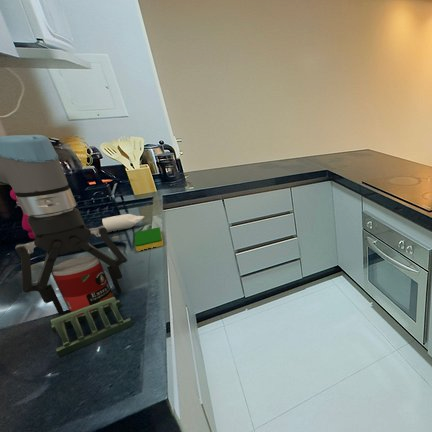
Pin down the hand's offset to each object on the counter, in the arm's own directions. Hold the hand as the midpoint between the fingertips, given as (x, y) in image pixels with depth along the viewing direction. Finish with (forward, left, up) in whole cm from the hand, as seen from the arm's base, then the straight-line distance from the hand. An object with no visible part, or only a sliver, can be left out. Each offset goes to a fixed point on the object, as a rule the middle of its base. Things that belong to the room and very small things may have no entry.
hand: (91, 300), depth 69 cm
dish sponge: (-12, +34, -1) cm, 36 cm away
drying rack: (+7, -8, -1) cm, 11 cm away
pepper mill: (-56, +41, -1) cm, 69 cm away
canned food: (0, 0, -1) cm, 1 cm away
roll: (-29, +47, -1) cm, 55 cm away
